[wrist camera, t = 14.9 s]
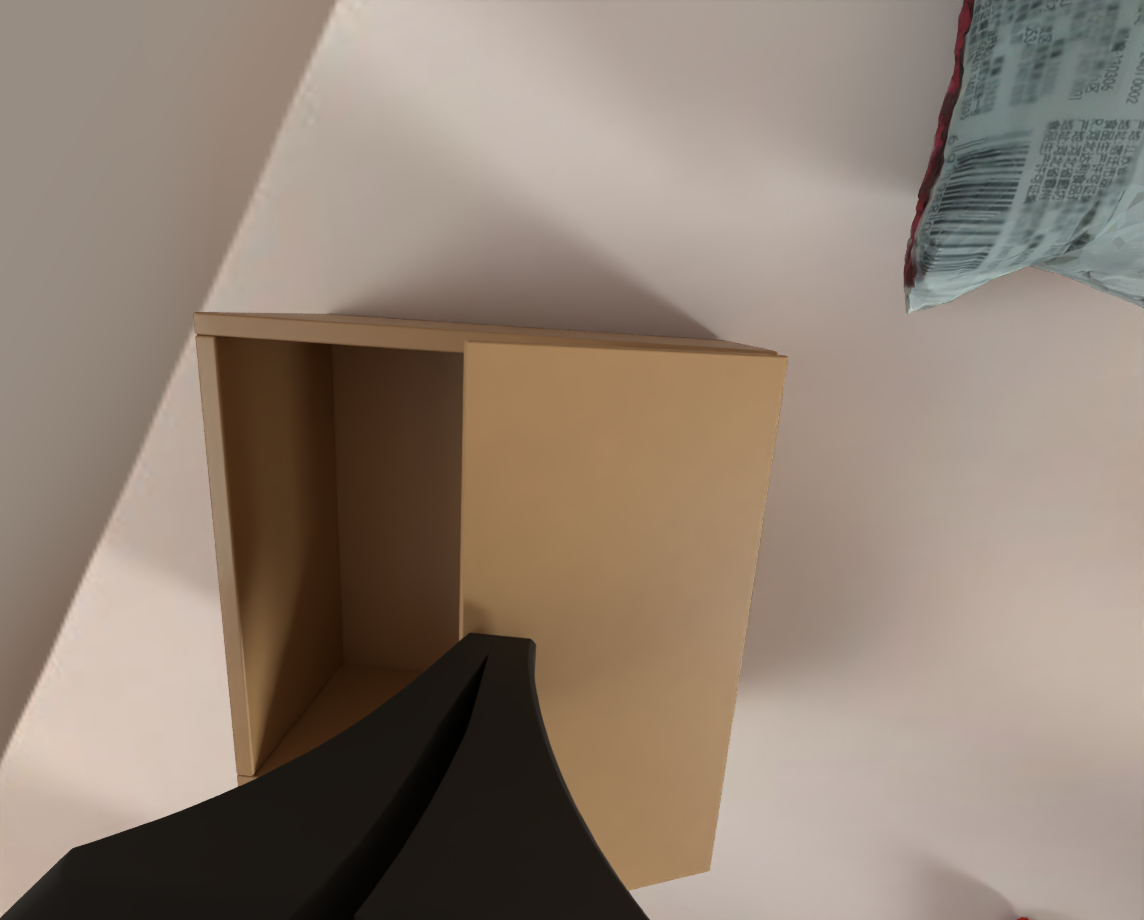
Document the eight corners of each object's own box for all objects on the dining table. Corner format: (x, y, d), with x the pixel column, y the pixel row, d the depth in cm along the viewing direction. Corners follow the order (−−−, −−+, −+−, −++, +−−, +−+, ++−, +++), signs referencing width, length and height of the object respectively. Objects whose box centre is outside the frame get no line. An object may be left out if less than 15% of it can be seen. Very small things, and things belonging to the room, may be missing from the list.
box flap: (776, 354, 12) (789, 356, 11) (702, 857, 15) (710, 871, 15) (463, 338, 10) (466, 340, 10) (454, 915, 13) (455, 933, 13)
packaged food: (1316, -155, 14) (1670, -395, 9) (1158, 338, 17) (1365, 345, 12) (948, -163, 15) (1103, -394, 10) (855, 314, 18) (941, 313, 13)
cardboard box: (726, 340, 18) (778, 351, 12) (680, 700, 21) (705, 844, 15) (323, 313, 19) (192, 312, 13) (337, 665, 22) (237, 790, 16)
